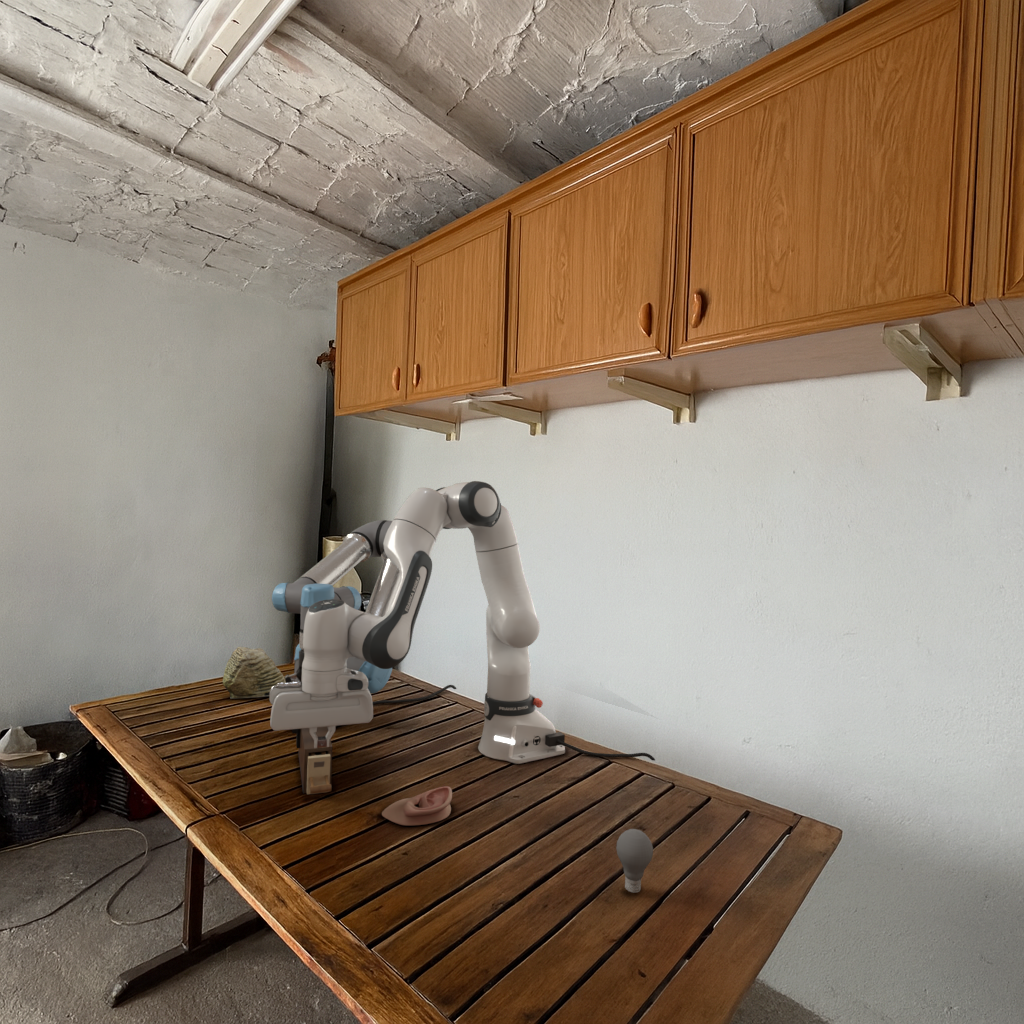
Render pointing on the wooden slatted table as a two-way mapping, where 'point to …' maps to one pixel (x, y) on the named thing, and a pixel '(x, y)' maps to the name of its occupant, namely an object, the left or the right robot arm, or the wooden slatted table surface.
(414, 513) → the right robot arm
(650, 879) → the wooden slatted table surface
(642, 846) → the light bulb
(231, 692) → the fossil
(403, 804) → the anatomical model
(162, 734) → the wooden slatted table surface
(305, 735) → the cabinet
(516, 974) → the wooden slatted table surface
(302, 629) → the left robot arm
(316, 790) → the drawer
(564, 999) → the wooden slatted table surface
